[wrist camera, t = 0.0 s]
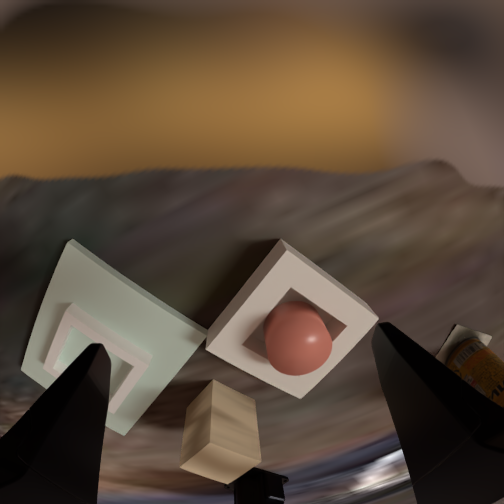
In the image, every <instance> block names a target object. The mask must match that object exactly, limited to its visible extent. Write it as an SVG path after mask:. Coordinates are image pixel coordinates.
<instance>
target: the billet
mask: <svg viewBox="0 0 504 504" xmlns="http://www.w3.org/2000/svg"><path fill="white" fill-rule="evenodd" d="M260 462H261V452H260V443H259V434H258V425H257V416H256V407H255V400H254V399H251V398H249V397H247V396H245V395H243V394H241V393H239V392H237V391H235V390H233V389H231V388H229V387H227V386H225V385H223V384H221V383H219V382H217V381H215V380H212V381H211V382H210V383H209V384H208V385H207V386H206V388H205V389H204V390H203V391H202V392H201V393H200V394H199V395H198V396H197V397H196V398H195V399H194V400H193V401H192V402H191V403H190V405H189V406H188V407H187V410H186V418H185V425H184V433H183V441H182V449H181V457H180V466H179V467H180V468H182V469H185V470H187V471H190V472H193V473H195V474H198V475H201V476H204V477H207V478H210V479H213V480H216V481H219V482H222V483H225V484H229V483H231V482H232V481H234V480H235V479H237V478H238V477H240V476H241V475H243V474H244V473H246V472H247V471H249V470H250V469H252V468H253V467H254V466H256V465H257V464H259V463H260Z"/></svg>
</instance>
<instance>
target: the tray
mask: <svg viewBox="0 0 504 504" xmlns="http://www.w3.org/2000/svg"><path fill="white" fill-rule="evenodd" d="M207 332H208V330H207V329H205V328H204V327H202V326H200V325H199V324H197V323H196V322H194V321H192V320H191V319H189V318H187V317H186V316H184V315H183V314H181V313H179V312H178V311H176V310H175V309H173V308H172V307H170V306H168V305H167V304H165V303H164V302H162V301H161V300H159V299H158V298H156V297H155V296H153V295H152V294H150V293H149V292H147V291H146V290H144V289H143V288H141V287H140V286H138V285H137V284H135V283H134V282H132V281H131V280H129V279H128V278H126V277H125V276H123V275H122V274H121V273H119V272H118V271H116V270H115V269H113V268H112V267H111V266H109V265H108V264H106V263H105V262H104V261H102V260H101V259H99V258H98V257H97V256H95V255H94V254H93V253H91V252H90V251H89V250H87V249H86V248H85V247H83V246H82V245H81V244H79V243H78V242H77V241H75V240H74V239H72V240H70V241H68V242H67V244H66V247H65V249H64V251H63V253H62V255H61V258H60V260H59V262H58V265H57V267H56V269H55V272H54V274H53V276H52V279H51V281H50V284H49V286H48V289H47V292H46V294H45V297H44V299H43V302H42V305H41V308H40V310H39V313H38V316H37V319H36V322H35V325H34V328H33V331H32V334H31V337H30V340H29V344H28V347H27V350H26V354H25V357H24V361H23V364H22V368H21V370H22V371H23V372H24V373H26V374H27V375H28V376H29V377H31V378H32V379H33V380H35V381H36V382H38V383H39V384H40V385H42V386H43V387H44V388H46V389H48V387H49V386H50V385H51V384H52V383H53V382H54V381H55V380H56V379H57V378H58V377H59V376H60V375H61V374H62V372H63V371H64V370H65V369H66V368H67V367H68V366H69V365H70V364H71V363H72V362H73V361H74V360H75V359H76V358H77V357H78V356H79V355H80V354H81V353H82V352H83V351H84V349H85V348H86V347H87V346H88V345H89V344H91V343H102V344H103V345H104V347H105V349H106V351H107V353H108V355H109V357H110V359H111V364H112V365H111V378H110V393H109V405H108V412H107V418H106V425H105V426H107V427H108V428H110V429H112V430H114V431H116V432H118V433H120V434H122V435H123V436H125V435H126V433H127V432H128V431H129V430H130V429H131V427H132V426H133V425H134V424H135V423H136V422H137V420H138V419H139V418H140V417H141V416H142V414H143V413H144V412H145V411H146V410H147V408H148V407H149V406H150V405H151V404H152V402H153V401H154V400H155V399H156V398H157V396H158V395H159V394H160V393H161V392H162V390H163V389H164V388H165V387H166V386H167V384H168V383H169V382H170V381H171V380H172V378H173V377H174V376H175V375H176V373H177V372H178V371H179V370H180V369H181V367H182V366H183V365H184V364H185V363H186V361H187V360H188V359H189V358H190V356H191V355H192V354H193V353H194V352H195V350H196V349H197V348H198V347H199V345H200V344H201V343H202V342H203V341H204V339H205V338H206V337H207Z"/></svg>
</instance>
